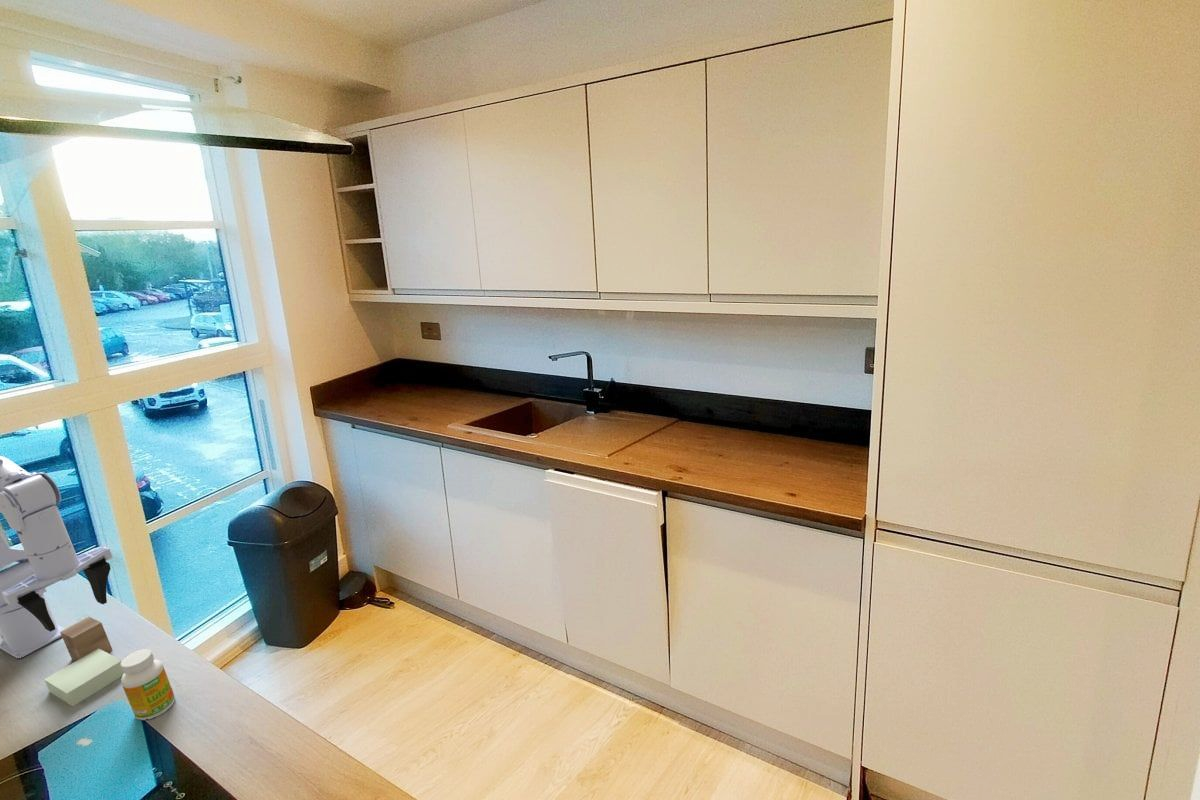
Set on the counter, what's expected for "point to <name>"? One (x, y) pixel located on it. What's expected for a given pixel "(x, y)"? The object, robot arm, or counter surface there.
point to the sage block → (84, 676)
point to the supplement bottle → (146, 685)
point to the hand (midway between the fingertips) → (77, 615)
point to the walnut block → (85, 638)
